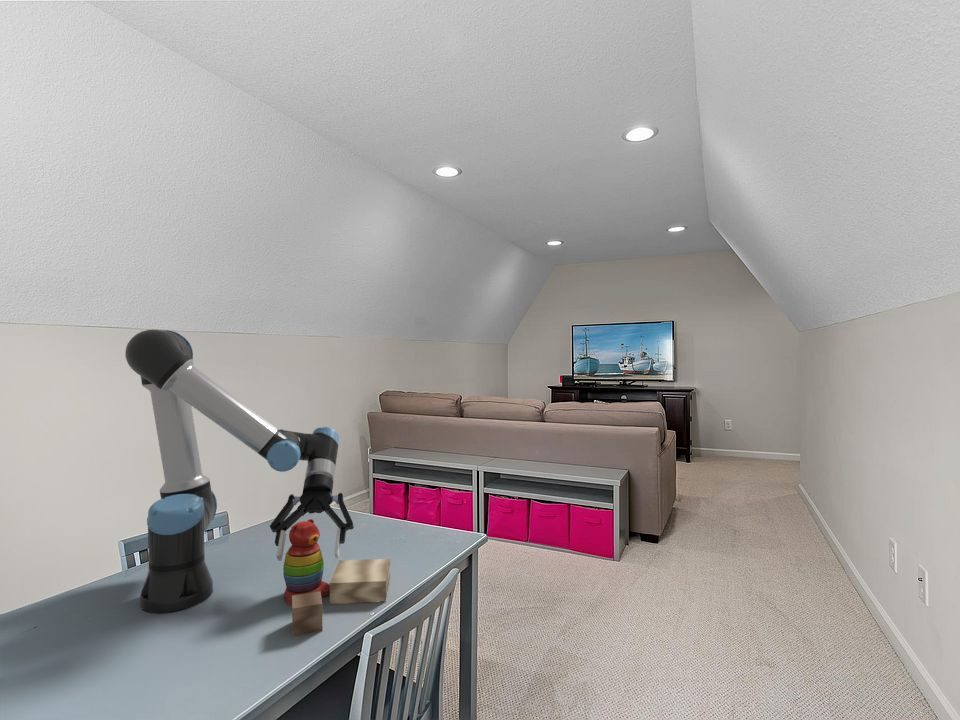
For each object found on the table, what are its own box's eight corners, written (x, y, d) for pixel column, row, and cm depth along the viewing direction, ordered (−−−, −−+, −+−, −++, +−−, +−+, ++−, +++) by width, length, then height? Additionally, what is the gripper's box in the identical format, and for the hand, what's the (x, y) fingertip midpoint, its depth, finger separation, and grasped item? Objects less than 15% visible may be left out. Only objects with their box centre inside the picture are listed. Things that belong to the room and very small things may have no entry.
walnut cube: (292, 636, 110) (292, 608, 109) (292, 622, 115) (291, 595, 115) (322, 631, 112) (322, 603, 112) (320, 617, 117) (320, 591, 117)
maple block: (329, 604, 123) (329, 583, 123) (339, 579, 136) (339, 560, 136) (385, 601, 124) (385, 581, 124) (390, 577, 137) (390, 558, 137)
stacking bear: (297, 609, 121) (296, 532, 120) (272, 596, 127) (272, 523, 126) (336, 592, 129) (335, 520, 129) (311, 580, 135) (310, 512, 135)
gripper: (367, 485, 146) (361, 561, 132) (274, 488, 143) (258, 565, 129) (365, 471, 141) (358, 548, 126) (268, 473, 138) (250, 552, 123)
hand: (307, 557), depth 127 cm, fingers open, 13 cm apart
